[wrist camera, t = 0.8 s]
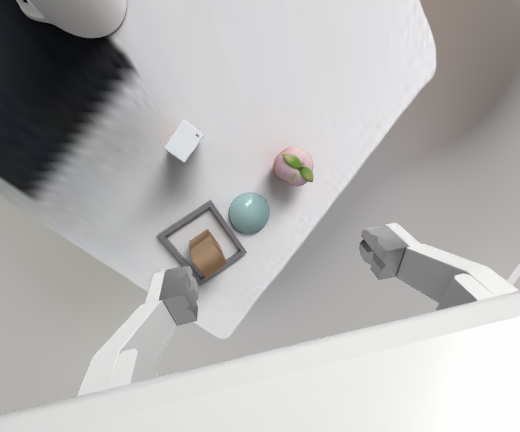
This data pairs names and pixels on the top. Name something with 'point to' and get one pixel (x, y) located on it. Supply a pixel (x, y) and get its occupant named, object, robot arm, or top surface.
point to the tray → (164, 233)
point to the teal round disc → (249, 213)
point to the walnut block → (207, 253)
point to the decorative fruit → (294, 166)
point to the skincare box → (183, 141)
